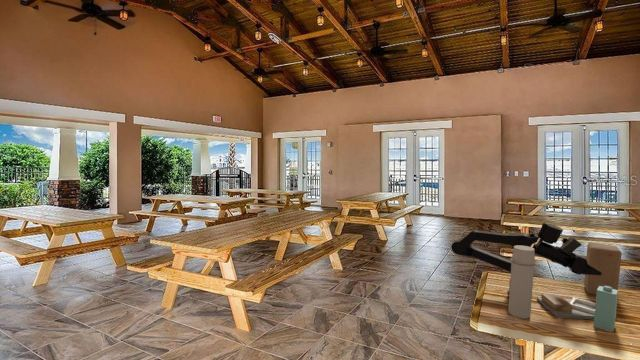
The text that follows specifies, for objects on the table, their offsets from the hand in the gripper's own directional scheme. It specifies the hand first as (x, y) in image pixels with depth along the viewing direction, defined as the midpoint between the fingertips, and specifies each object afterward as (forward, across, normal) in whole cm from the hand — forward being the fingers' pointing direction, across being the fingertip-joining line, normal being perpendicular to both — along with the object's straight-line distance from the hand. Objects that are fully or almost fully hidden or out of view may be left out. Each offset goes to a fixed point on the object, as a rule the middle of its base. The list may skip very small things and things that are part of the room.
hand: (596, 271), depth 128 cm
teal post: (+4, -12, +16) cm, 20 cm away
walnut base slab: (-8, -3, +18) cm, 19 cm away
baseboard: (-1, -1, +16) cm, 17 cm away
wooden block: (+12, +22, +9) cm, 26 cm away
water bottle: (-20, -13, +25) cm, 34 cm away
